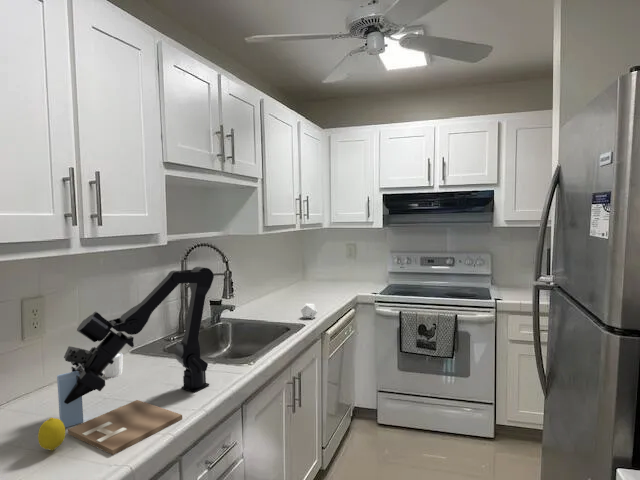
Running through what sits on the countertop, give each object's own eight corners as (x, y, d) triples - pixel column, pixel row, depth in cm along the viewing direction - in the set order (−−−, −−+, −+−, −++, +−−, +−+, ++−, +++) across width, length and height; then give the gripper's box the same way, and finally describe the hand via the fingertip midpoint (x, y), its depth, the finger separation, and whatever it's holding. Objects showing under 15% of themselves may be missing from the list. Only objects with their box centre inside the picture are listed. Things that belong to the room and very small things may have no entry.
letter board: (137, 403, 124) (137, 399, 124) (182, 418, 114) (182, 414, 113) (67, 433, 107) (67, 428, 107) (113, 455, 97) (112, 449, 97)
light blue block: (80, 415, 117) (77, 370, 116) (83, 422, 113) (80, 375, 113) (59, 421, 114) (57, 375, 113) (62, 428, 110) (59, 380, 109)
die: (306, 321, 222) (317, 307, 222) (295, 312, 226) (305, 298, 226) (312, 323, 229) (322, 309, 229) (301, 314, 233) (311, 300, 233)
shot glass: (105, 379, 144) (104, 360, 144) (100, 374, 150) (99, 355, 149) (126, 374, 149) (125, 355, 149) (120, 369, 154) (119, 351, 154)
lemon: (71, 443, 102) (69, 412, 102) (57, 456, 97) (55, 423, 96) (48, 444, 102) (46, 413, 102) (33, 457, 97) (31, 424, 96)
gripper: (77, 328, 122) (34, 374, 116) (89, 342, 108) (40, 396, 101) (108, 349, 128) (69, 394, 121) (123, 365, 113) (79, 417, 107)
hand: (64, 399), depth 112 cm, fingers closed on light blue block, 5 cm apart
